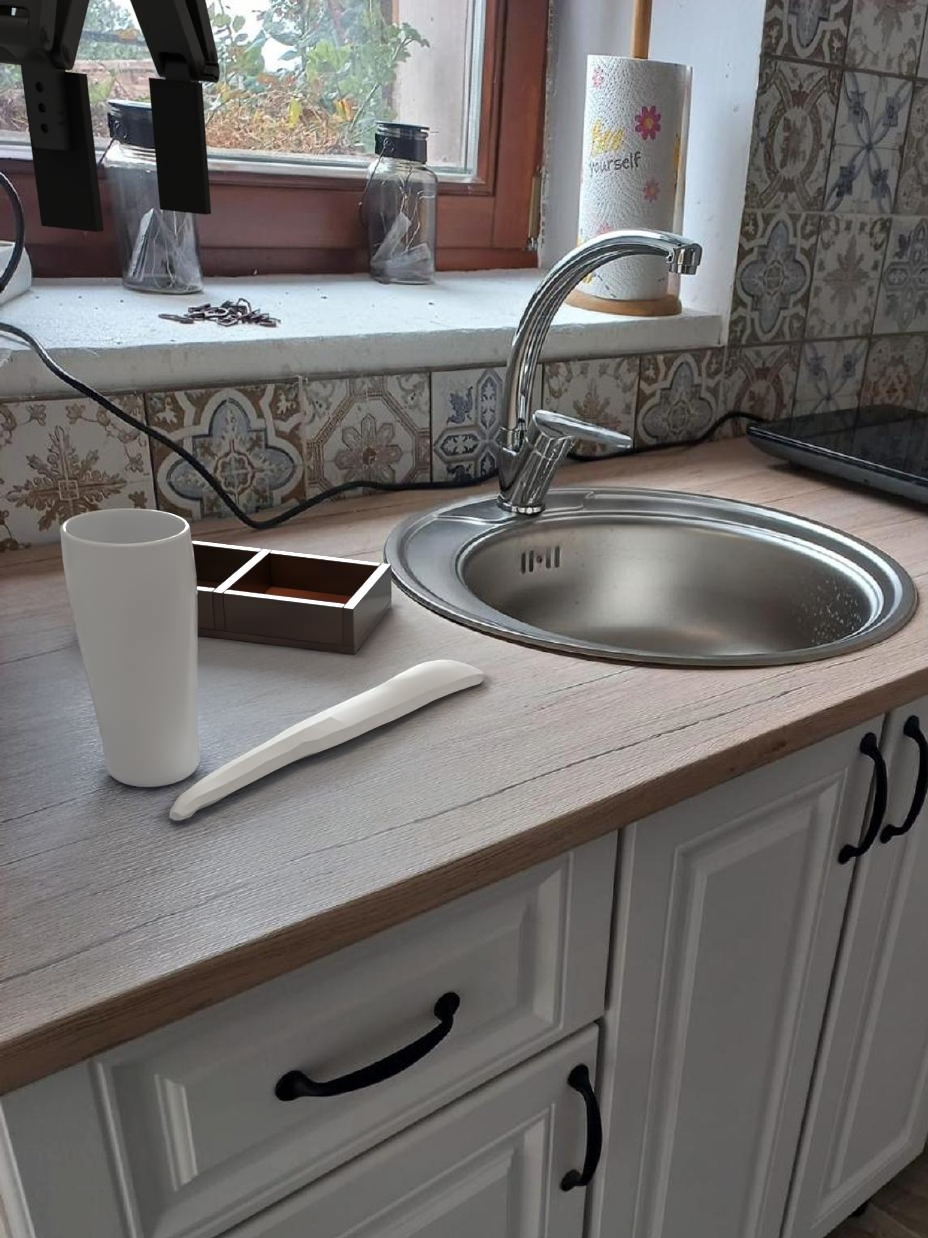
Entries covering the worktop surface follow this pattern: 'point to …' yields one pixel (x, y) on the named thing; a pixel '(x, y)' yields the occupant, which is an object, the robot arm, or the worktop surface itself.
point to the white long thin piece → (331, 729)
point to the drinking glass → (137, 638)
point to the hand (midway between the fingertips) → (134, 220)
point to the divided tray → (289, 597)
